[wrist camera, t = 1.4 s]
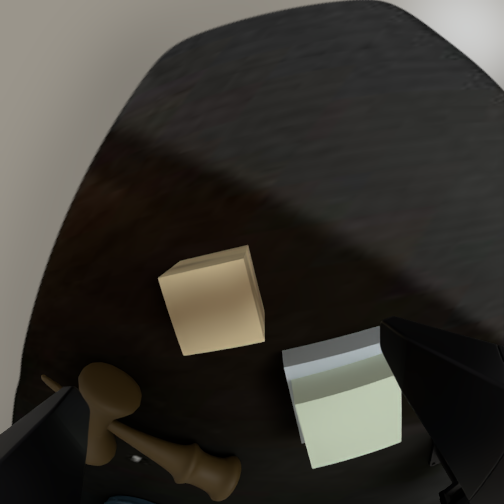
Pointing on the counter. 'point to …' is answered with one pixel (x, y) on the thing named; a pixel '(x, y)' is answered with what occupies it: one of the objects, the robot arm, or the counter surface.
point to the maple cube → (214, 301)
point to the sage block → (348, 410)
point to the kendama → (162, 452)
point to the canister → (126, 500)
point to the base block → (329, 357)
